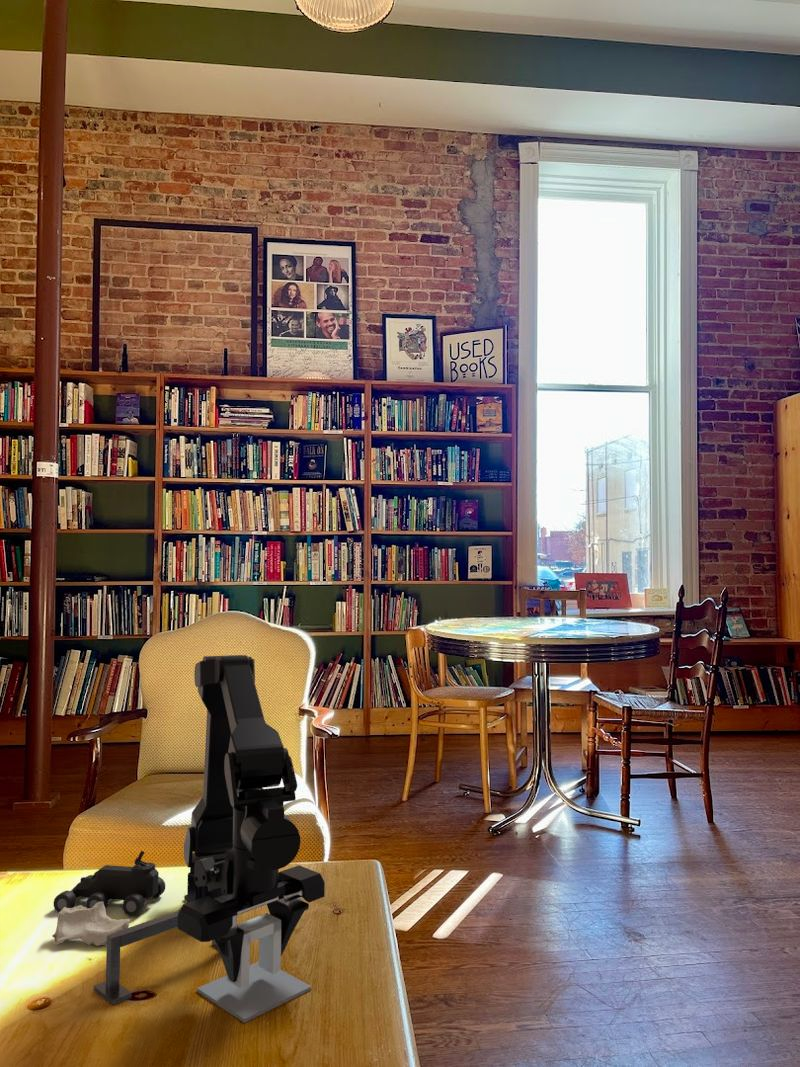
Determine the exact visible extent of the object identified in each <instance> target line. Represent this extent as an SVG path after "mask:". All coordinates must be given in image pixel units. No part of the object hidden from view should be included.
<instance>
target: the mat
mask: <svg viewBox="0 0 800 1067" xmlns="http://www.w3.org/2000/svg"><path fill="white" fill-rule="evenodd" d="M311 990H312V985H309V984H308V983H306V982H304V981H302V979H299V978H297V977H295V976H293V975H292V974H290V973H288V972H286V971H285V970H282V969H281V971H280V972H277V973H275V974H271V973H270V972H268V971H266V970H264V969H263V968H261V967H259V961H256V962H253V963H252V964H249V986H247V987H244V988H242V989H240V988H238V987H237V986H235V985H233V984H232V983H230V982H229V981H227V974H226V975H224V976H222V977H219V978H217V979H214V980H212V981H210V982H208V983H205V984H203V985H201V986H198V987H197V988H196V992H197V993H199V994H200V995H201V996H202V997H205V998H207V1000H209V1001H210V1002H212V1003H213V1004H215V1005H216V1006H218V1007H220V1009H222V1010H224V1011H226V1012H227V1013H228V1014H230V1015H232V1016H234V1017H235V1018H236V1019H238V1020H239V1021H241V1022H242V1023H244V1024H245V1023H247V1022H249V1021H251V1020H253V1019H255V1018H257V1017H259V1016H261V1015H263V1014H265V1013H267V1012H269V1011H271V1010H273V1009H275V1008H277V1007H279V1006H281V1005H284V1004H285V1003H287V1002H290V1001H292V1000H293V999H296V998H297V997H300V996H301V995H303V994H306V993H308V992H310V991H311Z"/></svg>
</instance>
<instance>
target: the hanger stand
mask: <svg viewBox="0 0 800 1067" xmlns="http://www.w3.org/2000/svg"><path fill="white" fill-rule="evenodd" d="M214 899H215V900H217V901H219V902H221V903H222V902H225V901H228V900H231V899H232V895H231V894H228V895H223V896H220V897H217V898H214ZM178 913H179V910H177V911H174V912H171V913H168V914H165V915H162V916H159V917H155V918H153V919H150V920H147V921H145V922H141V923H138V924H136V925H135V924H134V925H133V926H129V928H126V929H124V930H121V931H118V932H116V933H113V934H110V935H107V946H106V950H105V951H106V955H105V956H106V957H105V981H102V982H100V983H97V984H95V985H93V992H94V993H96V994H97V995H98V996H100V997H101V998H102V999H103V1000H105V1001H106V1002H107V1003H108V1004H110V1005H111V1006H116V1005H119V1004H120V1003H122V1002H125V1001H127V1000H130V999H132V992H131V991H130V990H128V989H127V988H126V987H124V986H123V985H122V984H121V983H120V980H121V979H120V978H121V976H120V974H121V948H123V947H125V946H129V945H131V944H134V943H137V942H140V941H143V940H145V939H148V938H152V937H154V936H156V935H159V934H161V933H162V934H163V933H165V932H167V931H171V930H173V929H176V928H178ZM211 945H212V946H214V947H216V948H217V949H218V947H217V945H216V943H215V941H214V940H211Z"/></svg>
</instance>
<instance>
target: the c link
mask: <svg viewBox="0 0 800 1067" xmlns="http://www.w3.org/2000/svg"><path fill="white" fill-rule="evenodd" d="M237 927H238V928H240V929H242V930H244V937H243V945H242V952H241V960H240V968H239V973H238V977H237V981H236V982H232V981H230V980H229V978H228V975H227V974H226V975H227V981H229V982H230V983H232V984H233V985H235V986H237V987H238V988H240V989H242V988H244V987H247V986H249V965H250V959H251V958H250V955H251V954H250V950H251V949H250V948H251V946H250V945H251V944H250V943H253V942H255V941H257V940H258V962H259V967H261V968H263V969H264V970H266V971H268V972H270V973H271V974H275V973H277V972H280V971H281V970H282V956H281V920H280V919H278V918H276V917H274V916H272V915H270V913H268V912H266V913H264V914H261V915H259V916H256V917H253V918H251V919H248V920H245V921H242V922H241V923H237Z"/></svg>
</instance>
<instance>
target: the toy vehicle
mask: <svg viewBox="0 0 800 1067" xmlns="http://www.w3.org/2000/svg"><path fill="white" fill-rule="evenodd" d="M145 853H146V852H145V851H143V850H140V852H139V855H138V856H137V857H136V858H135V859H134V865H133V866H123V865H113V864H112V865H111V864H110V865H109V864H108V865H107V864H105V865H104V866H102V867H100V868H99V869H98V870H97V871H95V872H94V873H93V874H89V875H87V876H83V877H80V881H79V882H77V884H75V886H74V887H73V888H72V889H71V890H64V891H62V892H60V893H59V894H58V895H56V896H55V898H54V900H53V909H54V910H55V912H57V913H60V911H61V910H62V909H63V908H64V907H66V908H73V907H76V906H77V900H78V899H79V898H86V902H85V908H87V909H88V908H89V909H90V908H92V907H93V906H94V905H95V904H96V903H98V902H103V903H104V907H105V910H106V909H108V907H109V902H110V900H114V901H115V900H116V901H122V905H121V907H122V910H123V913H124V914H125V915H127V916H128V917H135V916H137V915H139V914H140V913H141V912H142V911H143V910H144V909H145V906H146V903H147V902H148V901H150V900H155V899H157V898H159V897H160V896H161V895H162V894H164V892H165V890H166V883H165V880H164V879H163V878H162V877H160V876H159V875H160V874H159V873H160V872H159V871H158V870H157V869H156V864H155V863H154V862H146V861H143V860H142V858H143V856H144V854H145Z"/></svg>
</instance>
